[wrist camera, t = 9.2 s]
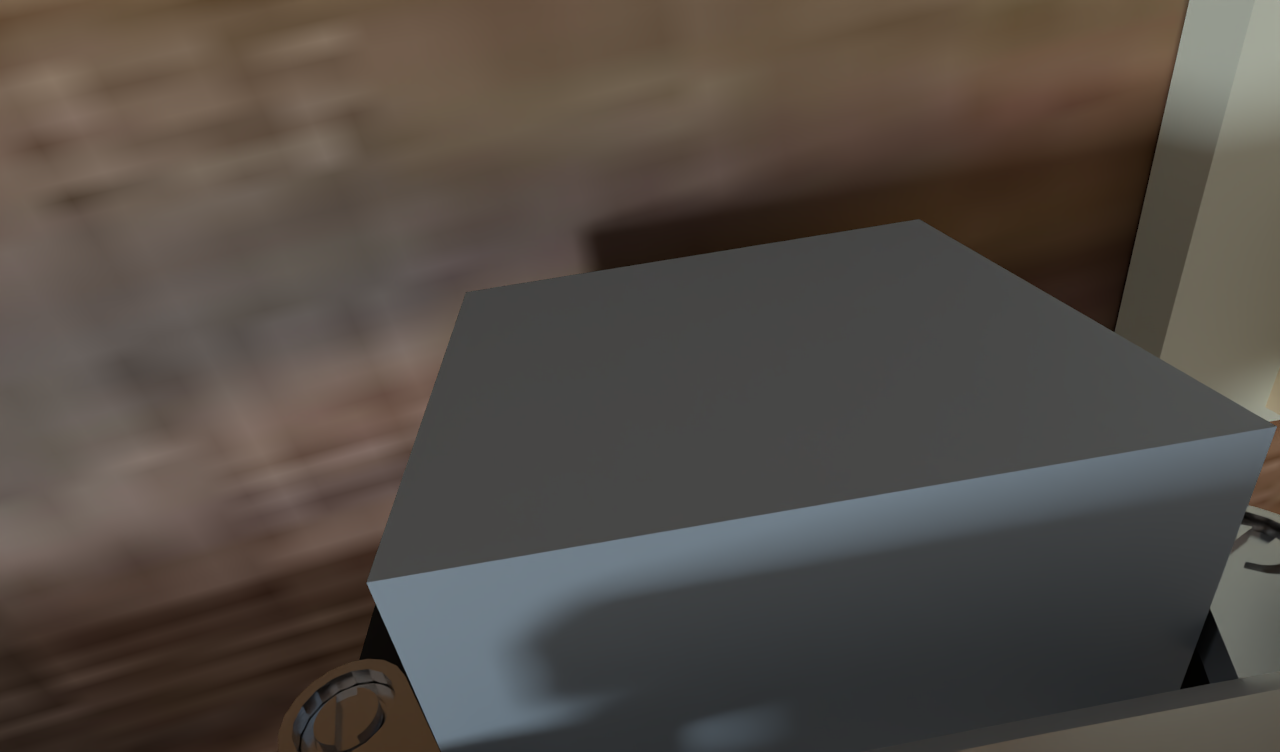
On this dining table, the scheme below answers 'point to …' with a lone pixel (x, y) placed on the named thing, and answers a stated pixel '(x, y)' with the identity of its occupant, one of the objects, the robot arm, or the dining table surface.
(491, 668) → the blue-gray block
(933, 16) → the dining table surface
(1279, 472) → the dining table surface
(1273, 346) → the board
